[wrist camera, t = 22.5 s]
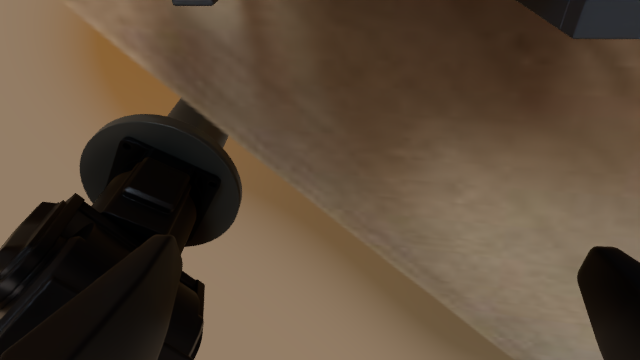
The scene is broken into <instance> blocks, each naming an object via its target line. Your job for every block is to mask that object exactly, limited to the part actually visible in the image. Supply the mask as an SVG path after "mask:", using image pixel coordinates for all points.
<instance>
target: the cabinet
mask: <svg viewBox="0 0 640 360" xmlns="http://www.w3.org/2000/svg"><path fill="white" fill-rule="evenodd" d="M516 1H518V2H519V3H521V4H522V5H524V6H525V7H527V8H528V9H530V10H531V11H533V12H534V13H535V14H537V15H538V16H540V17H541V18H543V19H544V20H546V21H547V22H549V23H550V24H552V25H553V26H555V27H556V28H558V29H559V30H561V31H562V32H564V33H565V34H566V35H568V36H569V37H571V38H573V39H640V0H516Z"/></svg>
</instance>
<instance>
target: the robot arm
mask: <svg viewBox="0 0 640 360" xmlns="http://www.w3.org/2000/svg"><path fill="white" fill-rule="evenodd" d="M126 143H128V144H130V145H131V147H129V146H128V145H127V144H126ZM210 181H213V182H215V184H212V183H211V182H210ZM220 185H221V179H220V178H219V177H218V176H216V175H214V174H212V173H210V172H208V171H205V170H203V169H201V168H199V167H197V166H194V165H192V164H190V163H188V162H186V161H183V160H181V159H179V158H177V157H175V156H172V155H170V154H168V153H166V152H163V151H161V150H159V149H157V148H155V147H152V146H150V145H148V144H146V143H144V142H141V141H139V140H137V139H135V138H132V137H129V136H126V137H124V138H123V139H122V140H121V141H120V142H119V145H118V148H117V151H116V155H115V158H114V161H113V164H112V168H111V171H110V174H109V177H108V181H107V184H106V187H105V189H104V191H103V192H102V193H101V195H100V196H99V197H98V198H97V200H96V201H95V202H94V204H93V205H92V206H90V205H88V204H87V203H86V202H84V199H83V198H82V197H80V196H79V195H78V194H76V193H75V194H74V195H73V196H72V197H71V198H69V199H68V200H67V201H66V202H65V201H64V200H63V201H61V202H60V203H48V202H42V203H41V204H40V205H39V206H38V207H36V209H35V210H34V211H33V212H32V213H31V214H30V215H29V216H28V217H27V218H26V219H25V220H24V221H23V222H22V223H21V224H20V226H19V227H18V228H17V229H16V230H15V231H14V232H13V233H12V234H11V236H10V237H9V238H8V239H7V241H6V242H5V243H4V244H3V245H2V247H1V248H0V360H194V358H195V356H196V354H197V352H198V349H199V347H200V343H201V340H202V333H203V332H202V331H203V310H204V288H205V285H204V284H203V283H202V282H200V281H199V280H194V279H193V278H192V277H190V276H189V275H187V274H186V273H185V272H183V271H182V258H181V253H182V251H183V249H184V247H185V244H186V242H189V241H191V240H192V238H193V236H194V234H195V233H196V231H197V229H198V227H199V225H200V223H201V221H202V219H203V217H204V216H205V214H206V212H207V210H208V208H209V206H210V204H211V202H212V200H213V199H214V197H215V195H216V193H217V191H218V189H219V187H220ZM577 280H578V285H579V288H580V291H581V294H582V297H583V300H584V303H585V306H586V310H587V313H588V316H589V319H590V322H591V325H592V328H593V331H594V334H595V338H596V340H597V343H598V346H599V349H600V351H601V354H602V356H603V359H604V360H640V263H639V262H638V261H636V260H635V259H633V258H632V257H630V256H629V255H627V254H626V253H624V252H623V251H621V250H619V249H618V248H615V247H602V246H596V247H593V248H592V249H591V250H590V251H589V253H588V255H587V257H586V258H585V260H584V262H583V264H582V266H581V267H580V269H579V271H578V275H577Z"/></svg>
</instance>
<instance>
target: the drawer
mask: <svg viewBox="0 0 640 360" xmlns="http://www.w3.org/2000/svg"><path fill="white" fill-rule="evenodd" d="M217 1H218V0H172V3H173V5H175V6H212V5H214V4H215V3H216V2H217Z"/></svg>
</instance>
